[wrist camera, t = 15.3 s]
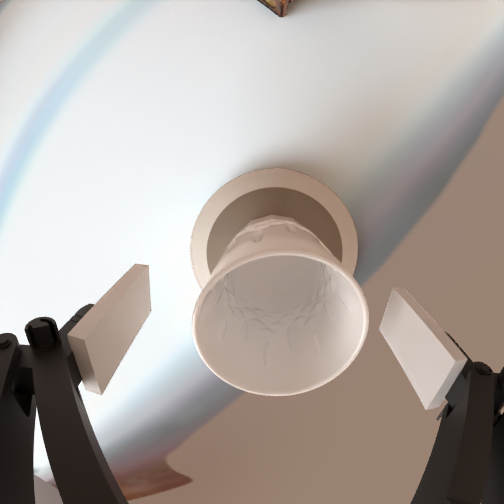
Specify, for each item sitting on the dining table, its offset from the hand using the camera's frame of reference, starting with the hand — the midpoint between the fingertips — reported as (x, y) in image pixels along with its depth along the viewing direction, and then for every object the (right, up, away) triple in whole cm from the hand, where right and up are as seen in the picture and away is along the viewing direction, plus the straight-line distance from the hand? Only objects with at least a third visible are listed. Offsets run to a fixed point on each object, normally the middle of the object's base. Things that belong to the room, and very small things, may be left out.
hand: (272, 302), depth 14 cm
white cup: (+1, +2, +7) cm, 8 cm away
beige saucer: (+1, +3, +9) cm, 9 cm away
